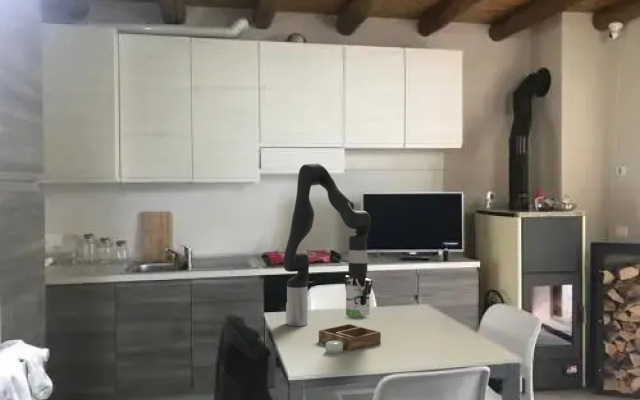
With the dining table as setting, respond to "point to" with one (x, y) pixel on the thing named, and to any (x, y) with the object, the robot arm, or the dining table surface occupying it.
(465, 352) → the dining table surface
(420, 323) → the dining table surface
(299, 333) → the dining table surface
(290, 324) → the robot arm
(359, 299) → the ink box
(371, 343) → the organizer
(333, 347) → the white domed round part
